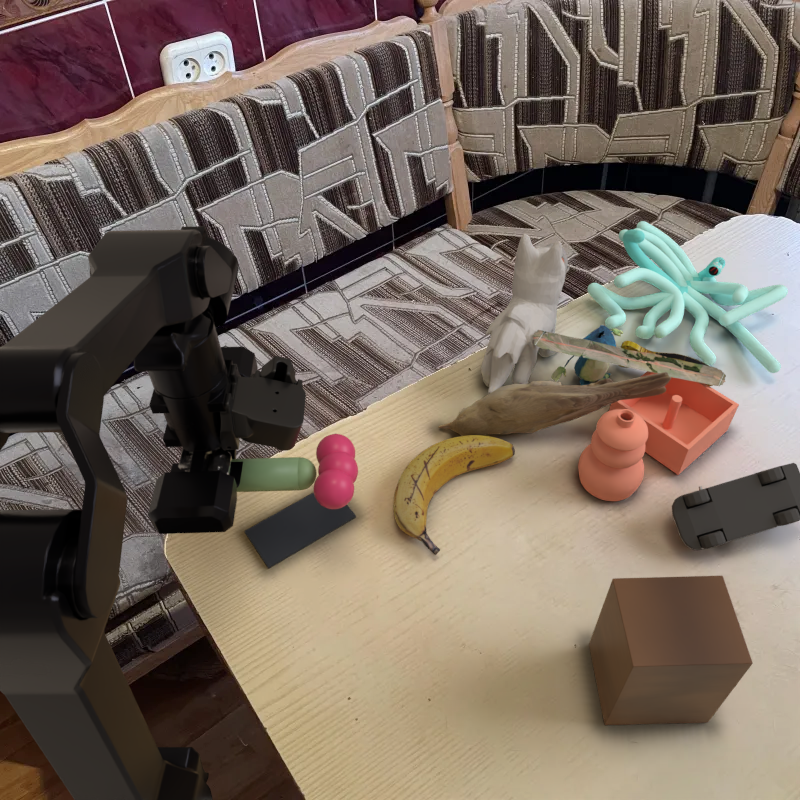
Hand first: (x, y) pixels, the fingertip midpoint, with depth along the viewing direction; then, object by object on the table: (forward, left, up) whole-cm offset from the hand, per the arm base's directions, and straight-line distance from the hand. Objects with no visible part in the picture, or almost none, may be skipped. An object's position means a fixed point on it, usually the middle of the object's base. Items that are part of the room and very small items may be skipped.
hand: (227, 491), depth 70 cm
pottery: (+32, -29, -7) cm, 44 cm away
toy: (+37, -12, -7) cm, 39 cm away
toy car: (+26, -41, -2) cm, 48 cm away
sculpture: (+31, -18, -3) cm, 36 cm away
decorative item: (+43, -27, -7) cm, 51 cm away
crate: (+8, -39, -7) cm, 41 cm away
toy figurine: (+38, -20, -7) cm, 44 cm away
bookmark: (+37, -24, -1) cm, 44 cm away
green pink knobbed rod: (+3, -4, +1) cm, 5 cm away
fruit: (+16, -15, -7) cm, 23 cm away
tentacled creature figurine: (+46, -25, -2) cm, 52 cm away
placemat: (+4, -5, -7) cm, 9 cm away
